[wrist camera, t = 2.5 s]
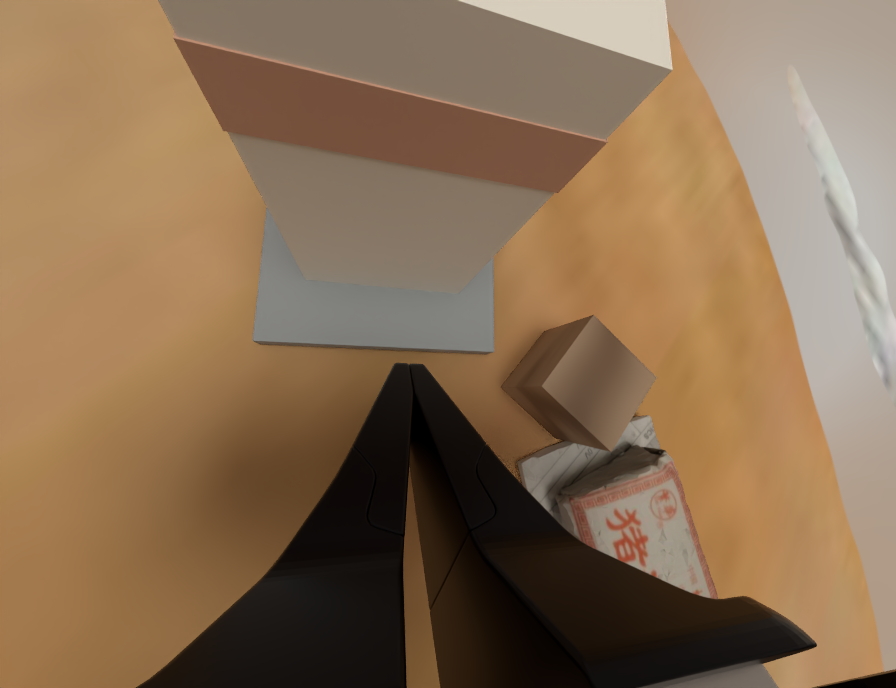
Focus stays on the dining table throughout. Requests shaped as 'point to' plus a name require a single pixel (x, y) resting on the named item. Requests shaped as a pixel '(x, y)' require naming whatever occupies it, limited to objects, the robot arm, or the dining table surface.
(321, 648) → the robot arm
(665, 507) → the packaged product
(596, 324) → the walnut block
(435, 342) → the podium
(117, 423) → the dining table surface
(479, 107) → the carton
